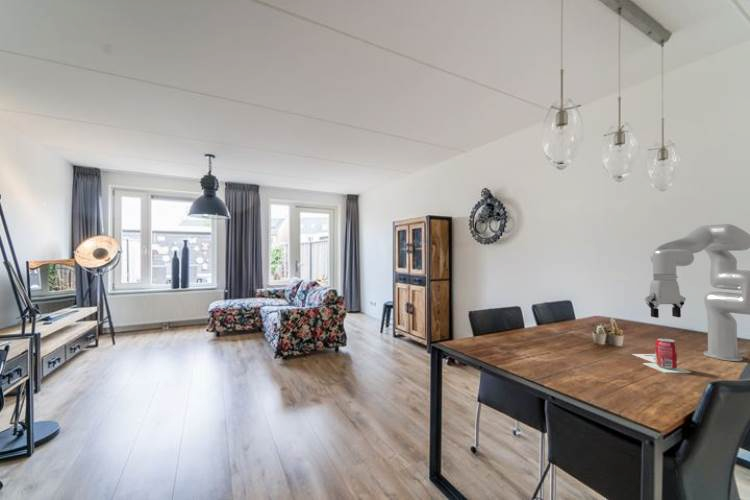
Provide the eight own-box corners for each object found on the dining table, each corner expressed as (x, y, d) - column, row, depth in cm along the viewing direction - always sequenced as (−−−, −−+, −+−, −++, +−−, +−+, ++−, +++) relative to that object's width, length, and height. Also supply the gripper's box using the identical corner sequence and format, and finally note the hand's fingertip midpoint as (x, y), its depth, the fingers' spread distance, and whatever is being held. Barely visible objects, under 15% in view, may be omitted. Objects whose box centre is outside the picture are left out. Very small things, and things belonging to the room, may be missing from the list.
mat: (666, 363, 143) (666, 362, 143) (691, 372, 132) (691, 371, 132) (642, 364, 143) (642, 363, 143) (665, 373, 132) (665, 372, 132)
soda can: (668, 364, 140) (667, 337, 141) (682, 370, 133) (681, 342, 134) (651, 364, 141) (650, 337, 141) (664, 369, 134) (663, 341, 134)
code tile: (655, 354, 156) (655, 353, 156) (679, 362, 144) (679, 362, 144) (632, 354, 156) (632, 353, 156) (653, 362, 144) (653, 362, 144)
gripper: (675, 277, 142) (676, 315, 142) (637, 277, 142) (638, 315, 141) (692, 278, 134) (693, 318, 134) (652, 279, 134) (653, 319, 134)
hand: (665, 317), depth 138 cm, fingers open, 9 cm apart
